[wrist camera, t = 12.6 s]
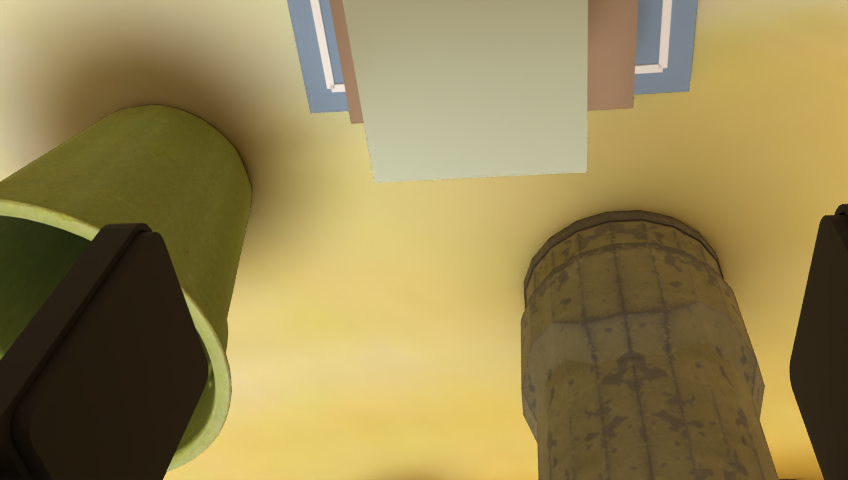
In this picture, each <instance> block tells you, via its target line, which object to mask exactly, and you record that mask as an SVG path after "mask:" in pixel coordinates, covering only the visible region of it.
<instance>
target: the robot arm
mask: <svg viewBox="0 0 848 480" xmlns="http://www.w3.org/2000/svg"><path fill="white" fill-rule="evenodd" d="M208 370H209V369H208V362H207V358H206V355H205V353H204V350H203V347H202V344H201V341H200V339H199V336H198V333H197V330H196V328H195V325H194V322H193V319H192V316H191V314H190V311H189V308H188V305H187V303H186V300H185V297H184V294H183V291H182V289H181V286H180V283H179V280H178V278H177V275H176V272H175V269H174V266H173V264H172V261H171V258H170V255H169V253H168V250H167V247H166V244H165V241H164V239H163V237H162V236H161V235H160V233H158V232H153V231H152V229H151V228H150V227H149V226H148V225H147V224H145V223H114V224H106V225H105V226H103V227H102V228H101V229H100V231H99V232H98V233H97V235H96V236H95V237H94V239H93V240H92V241H91V242H90V244H89V245H88V246H87V248H86V249H85V250H84V252H83V253H82V254H81V255H80V257H79V258H78V259H77V261H76V262H75V263H74V265H73V266H72V267H71V269H70V270H69V271H68V272H67V274H66V275H65V276H64V278H63V279H62V280H61V282H60V283H59V284H58V285H57V287H56V288H55V289H54V291H53V292H52V293H51V295H50V296H49V297H48V299H47V300H46V301H45V302H44V304H43V305H42V306H41V308H40V309H39V310H38V312H37V313H36V314H35V315H34V317H33V318H32V319H31V321H30V322H29V323H28V325H27V326H26V327H25V329H24V330H23V331H22V332H21V334H20V335H19V336H18V338H17V339H16V340H15V342H14V343H13V344H12V345H11V347H10V348H9V349H8V351H7V352H6V353H5V355H4V356H3V357H2V359H1V360H0V480H163V478H164V476H165V474H166V472H167V469H168V467H169V465H170V463H171V461H172V458H173V456H174V454H175V452H176V450H177V448H178V445H179V443H180V441H181V439H182V437H183V434H184V432H185V430H186V428H187V426H188V423H189V421H190V419H191V417H192V415H193V412H194V410H195V408H196V406H197V404H198V401H199V399H200V397H201V395H202V393H203V390H204V388H205V386H206V383H207V380H208ZM790 381H791V386H792V390H793V393H794V395H795V398H796V401H797V404H798V407H799V410H800V412H801V415H802V418H803V421H804V424H805V427H806V429H807V432H808V435H809V438H810V441H811V444H812V446H813V449H814V452H815V455H816V458H817V460H818V463H819V466H820V469H821V472H822V475H823V477H824V480H848V204H842V205H840V206H839V207H838V208H837V210H836V212H835V215H825V216H824V217H823V218H822V219H821V222H820V225H819V229H818V234H817V239H816V243H815V248H814V253H813V257H812V262H811V267H810V271H809V276H808V281H807V285H806V290H805V295H804V299H803V304H802V309H801V313H800V318H799V323H798V327H797V332H796V337H795V341H794V346H793V351H792V355H791V360H790Z"/></svg>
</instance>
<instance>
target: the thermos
mask: <svg viewBox="0 0 848 480" xmlns="http://www.w3.org/2000/svg"><path fill="white" fill-rule="evenodd" d="M524 298H525V311H524V314H523V316H522V319H521V381H522V403H523V415H524V417H525V419H526V421H527V423H528V425H529V427H530V429H531V431H532V433H533V435H534V437H535V439H536V441H537V443H538V475H539V480H779V479H778V476H777V473H776V470H775V467H774V464H773V461H772V457H771V454H770V451H769V448H768V445H767V442H766V439H765V436H764V433H763V429H762V426H761V423H760V413H761V407H762V400H763V394H764V387H765V385H764V382H763V379H762V375H761V372H760V369H759V365H758V362H757V359H756V356H755V353H754V350H753V347H752V345H751V342H750V339H749V336H748V333H747V330H746V327H745V324H744V321H743V318H742V316H741V313H740V310H739V307H738V304H737V301H736V298H735V295H734V292H733V290H732V289H731V288H730V286H729V285H728V284H727V283H726V282H725V281H724V278H723V274H722V271H721V268H720V265H719V261H718V258H717V255H716V252H715V251H714V250H713V249H712V248H711V246H710V245H709V244H708V243H707V242H706V241H705V239H704V238H703V237H702V236H701V235H700V234H699V232H697V231H695V230H694V229H692V228H690V227H688V226H687V225H685V224H683V223H681V222H679V221H678V220H676V219H674V218H672V217H668V216H663V215H659V214H654V213H650V212H645V211H619V212H606V213H602V214H599V215H596V216H593V217H589V218H586V219H583V220H580V221H576V222H575V223H573V224H571V225H570V226H568V227H567V228H565V229H564V230H562V231H560V232H559V233H557V234H556V235H554V236H552V237H551V238H550V239H549V240H548V241H547V242H546V243H545V245H544V246H543V247H542V248H541V249H540V251H539V252H538V253H537V254H536V255H535V256H534V258H533V259H532V261H531V264H530V267H529V270H528V272H527V275H526V278H525V281H524Z"/></svg>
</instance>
